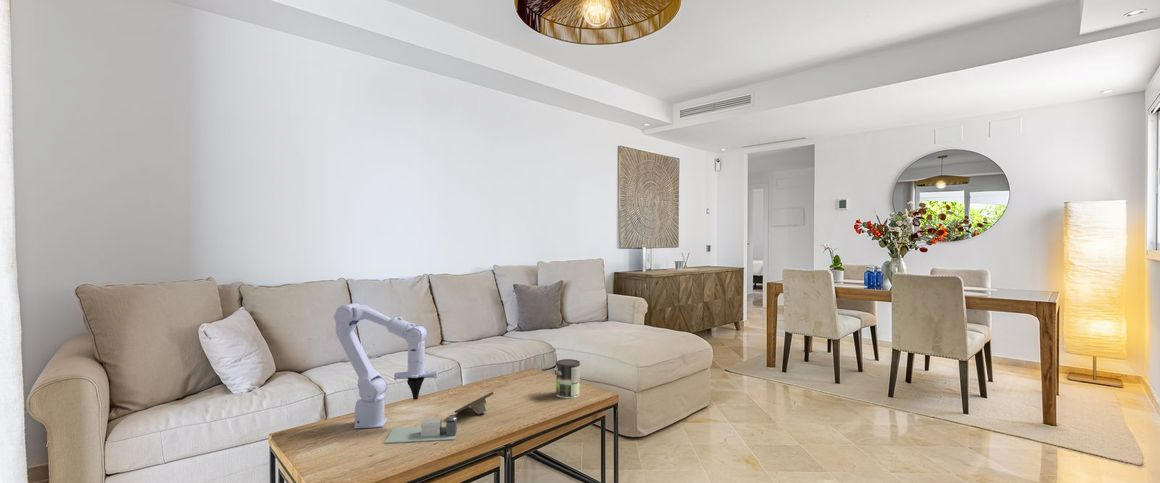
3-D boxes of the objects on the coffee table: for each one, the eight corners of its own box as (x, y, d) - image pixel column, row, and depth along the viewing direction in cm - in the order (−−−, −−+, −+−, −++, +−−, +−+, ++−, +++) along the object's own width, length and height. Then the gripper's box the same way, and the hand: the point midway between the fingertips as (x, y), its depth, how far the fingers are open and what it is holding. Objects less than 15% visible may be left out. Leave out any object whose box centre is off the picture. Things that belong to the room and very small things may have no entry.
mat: (384, 443, 155) (384, 442, 155) (393, 429, 167) (393, 428, 167) (454, 440, 159) (454, 438, 159) (458, 426, 170) (458, 425, 170)
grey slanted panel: (460, 434, 174) (492, 407, 174) (446, 414, 175) (477, 387, 176) (475, 424, 190) (504, 399, 190) (462, 406, 191) (491, 381, 192)
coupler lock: (421, 437, 159) (421, 423, 159) (423, 431, 164) (423, 418, 164) (439, 436, 160) (439, 423, 160) (441, 430, 165) (441, 417, 165)
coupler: (425, 437, 160) (426, 421, 160) (428, 431, 165) (428, 416, 165) (455, 435, 161) (455, 420, 161) (457, 430, 166) (457, 414, 166)
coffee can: (559, 399, 200) (559, 365, 200) (553, 392, 210) (553, 359, 210) (582, 397, 203) (583, 364, 203) (575, 390, 213) (576, 358, 213)
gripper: (392, 363, 166) (391, 403, 166) (435, 362, 168) (435, 401, 168) (396, 358, 173) (396, 396, 173) (438, 357, 175) (438, 395, 175)
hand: (415, 398), depth 171 cm, fingers closed
